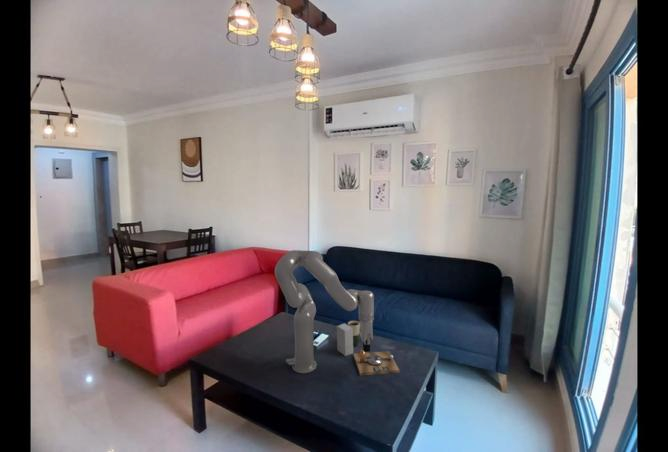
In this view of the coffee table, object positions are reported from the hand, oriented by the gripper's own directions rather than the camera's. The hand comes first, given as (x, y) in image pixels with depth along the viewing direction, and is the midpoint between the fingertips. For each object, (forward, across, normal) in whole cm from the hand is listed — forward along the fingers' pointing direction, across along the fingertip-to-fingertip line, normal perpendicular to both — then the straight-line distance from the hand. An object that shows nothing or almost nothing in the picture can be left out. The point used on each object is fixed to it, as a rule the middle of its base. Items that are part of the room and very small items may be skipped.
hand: (366, 350), depth 157 cm
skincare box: (+10, -19, -8) cm, 23 cm away
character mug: (+11, -27, -2) cm, 29 cm away
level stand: (+11, -5, +6) cm, 13 cm away
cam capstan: (+9, -5, +7) cm, 12 cm away
